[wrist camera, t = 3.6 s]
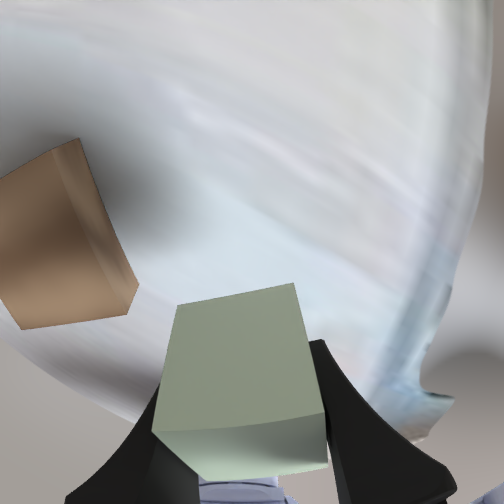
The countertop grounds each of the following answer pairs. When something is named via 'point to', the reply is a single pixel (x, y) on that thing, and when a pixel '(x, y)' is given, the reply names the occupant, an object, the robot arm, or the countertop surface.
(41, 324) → the walnut base
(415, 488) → the robot arm
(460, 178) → the countertop surface
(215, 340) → the sage cube
